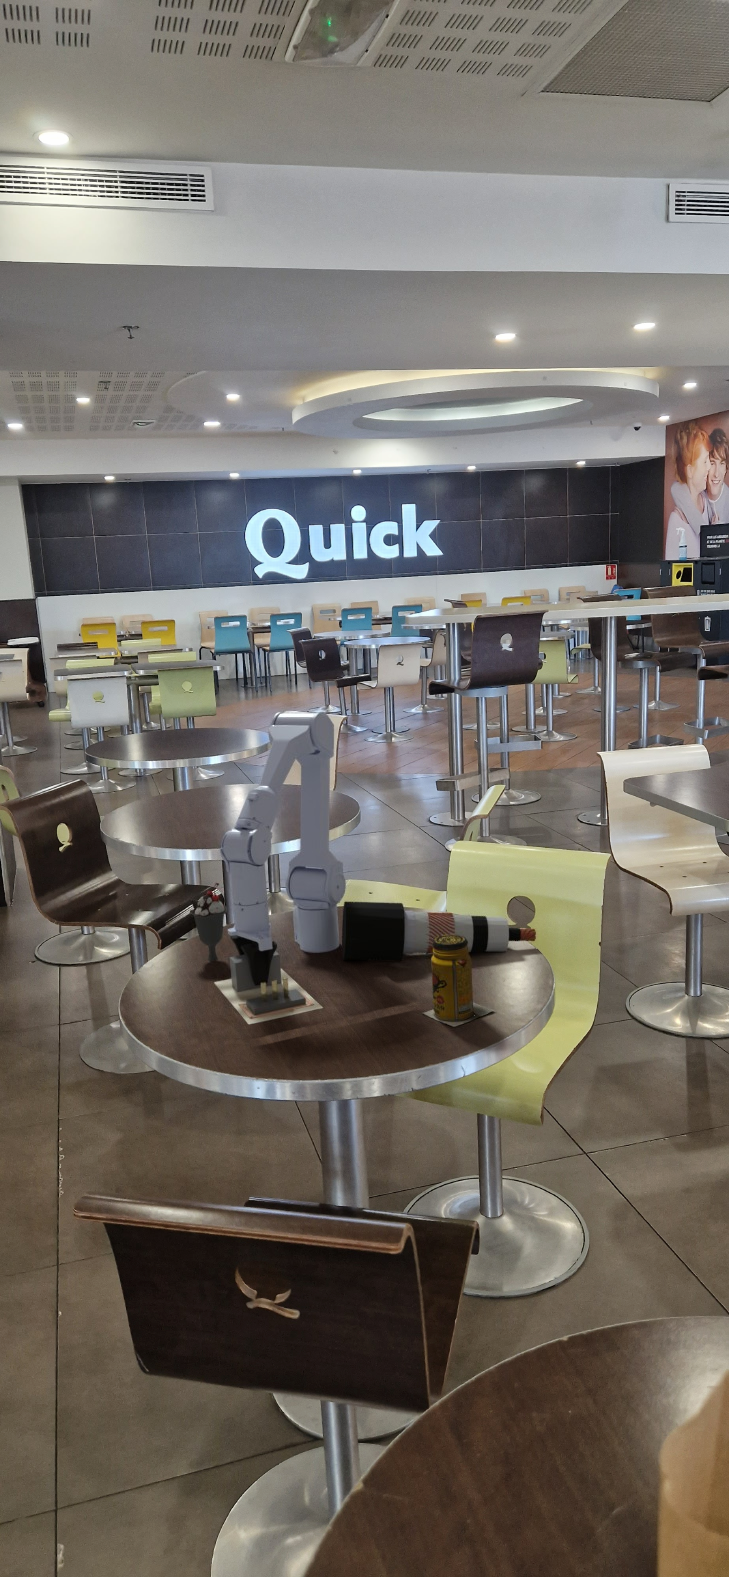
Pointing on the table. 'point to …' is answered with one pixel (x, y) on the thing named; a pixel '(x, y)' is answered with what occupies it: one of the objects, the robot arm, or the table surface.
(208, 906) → the sundae
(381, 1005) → the table surface
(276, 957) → the block
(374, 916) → the striped banded cylinder
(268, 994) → the board
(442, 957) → the condiment
